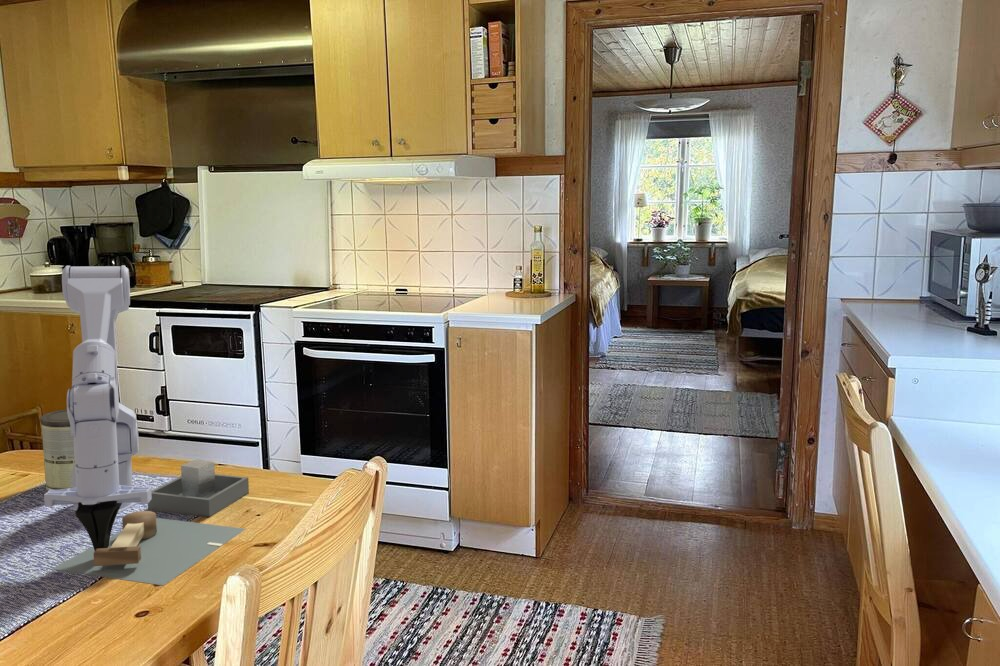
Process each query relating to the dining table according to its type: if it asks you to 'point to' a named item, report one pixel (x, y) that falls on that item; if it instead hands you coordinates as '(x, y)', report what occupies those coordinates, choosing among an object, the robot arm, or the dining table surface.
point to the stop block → (198, 479)
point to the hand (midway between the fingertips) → (101, 548)
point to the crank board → (159, 552)
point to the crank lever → (128, 540)
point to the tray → (175, 502)
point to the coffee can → (57, 450)
